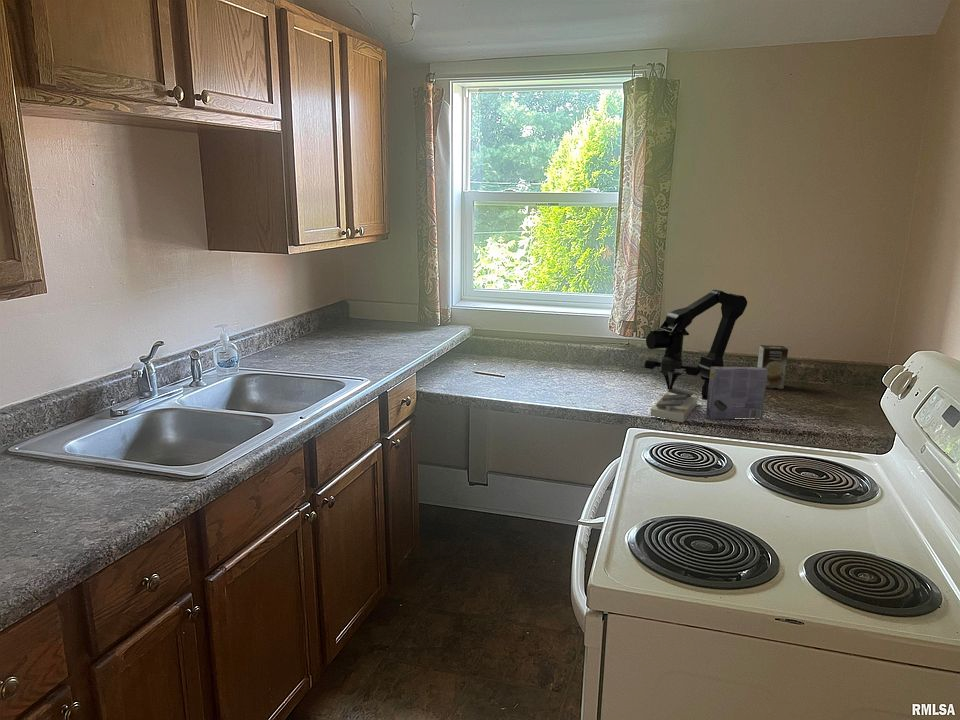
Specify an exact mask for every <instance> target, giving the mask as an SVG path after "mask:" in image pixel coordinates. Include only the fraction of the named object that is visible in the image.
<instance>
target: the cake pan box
mask: <svg viewBox="0 0 960 720" xmlns="http://www.w3.org/2000/svg"><path fill="white" fill-rule="evenodd" d="M767 374H768V369H765V368H762V367H757V366H756V367H755V366H754V367H751V366H747V367H745V366H724V367H711V368H710V378H709V387H708V398H707V399H706V409H705V410H706V411H705V416H706V417H707V418H708V419H709V418H710V419H709V420H711V419H713V420H729V419H735V418H760V419H762V420H763V417H764V416H763V414H764V408H765V406H764V403H765V398H766V389H767V388H766V382H767Z"/></svg>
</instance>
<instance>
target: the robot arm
mask: <svg viewBox="0 0 960 720" xmlns="http://www.w3.org/2000/svg"><path fill="white" fill-rule="evenodd" d="M717 304H721V306H720V309H721V319H720V322H719V324H718V327H717V330H716V333H715V336H714V339H713V341H712V344H711V346H710V350H709V353H708V354H706V356H703V355H702V356H701V357H700V361H699V363H698V364H696V363H688V364H687V365H683V360H682V356H683V355H682V354H683V346H684V338H685V336H690V333H689V331H687V330H686V328H688V326H690V325H691V324H692V322H693V320H694V319H695V318H696V317H698V316H700V315H701V314H703V313H705V312H706V311H707V310H709V309H711V308H712V307H714V306H716V305H717ZM747 306H748V300H747V298H746V297H745V296H744V295H740V294H736V293H727V292H724V291H723V290H719V289H712V290H710V291H709V292H708V293H707V294H705V295H703V296H702V297H700V298H698V299H697V300H696V301H693V302H692V303H690V304H688V306H685V307H682V308H677V309H674V310H672V311H670V312H669V311H668V313H667V314H666V315H665V319H664V320H663V322H661V324H660V326H659V327H658V329H650V332H649V333H648V334H647V336H646V337H645V343H646V347H647V348H648V349H649V350H659V349H660V350H661V349H665V350H664V355H663V358H662V360H661V361H660V359H659V358H653V357H649V358H648V359H646V360H645V361H644V364H643V365H644V366H643V368H644V369H649V370H653V369H655V368H656V367H657V368H660V369H659V373H661V374H662V375H663V377H664V379H665V384H666V387H667V390H668V389H669V388H670V389H672V388H673V387H674V386H675V383H676V381H677V379H678V378H679V376H682V375H683V374H684V372H685V374H687V375H689V376H698V375H699V376H700V378H701V379H700V380H702V381H704V382H703V384H702V386H701V399H703V400H707V398H708V387H709V378H710V368H711V367H725V364H724V359H723V358H724V354H725V351H726V349H727V347H728V344H729V341H730V337H731V335H732V332H733V330H734V327H735V324H736V321H737V320H738V319H739V318H740V317H741V316H742V315H743V314H744V312H745V310H746V308H747Z"/></svg>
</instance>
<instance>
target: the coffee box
mask: <svg viewBox="0 0 960 720" xmlns="http://www.w3.org/2000/svg"><path fill="white" fill-rule="evenodd" d="M788 355H789V349H788V347H786V346H783V345H769V344H759V350H758V358H757V366H756V367H762V368H765V369H768V374H767V382H766V389H773V388H778V389H779V390H783V389H784V385H785V377H786V368H787V361H788Z"/></svg>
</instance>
